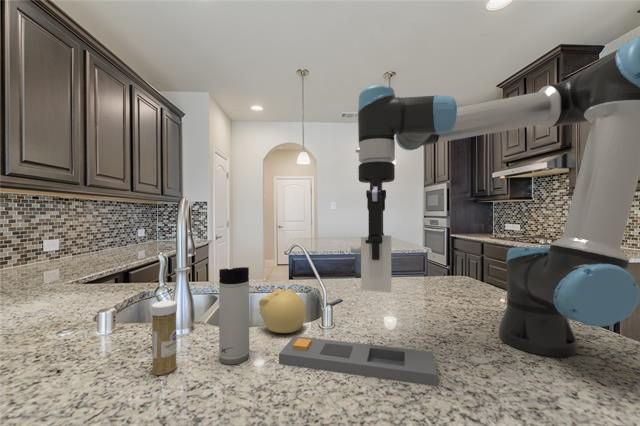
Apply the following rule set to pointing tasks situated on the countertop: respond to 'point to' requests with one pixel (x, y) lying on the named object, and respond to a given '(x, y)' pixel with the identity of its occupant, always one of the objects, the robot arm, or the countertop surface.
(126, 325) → the countertop surface
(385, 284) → the block
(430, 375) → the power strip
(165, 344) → the sprinkles bottle
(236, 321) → the travel mug
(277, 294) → the tan round potato
